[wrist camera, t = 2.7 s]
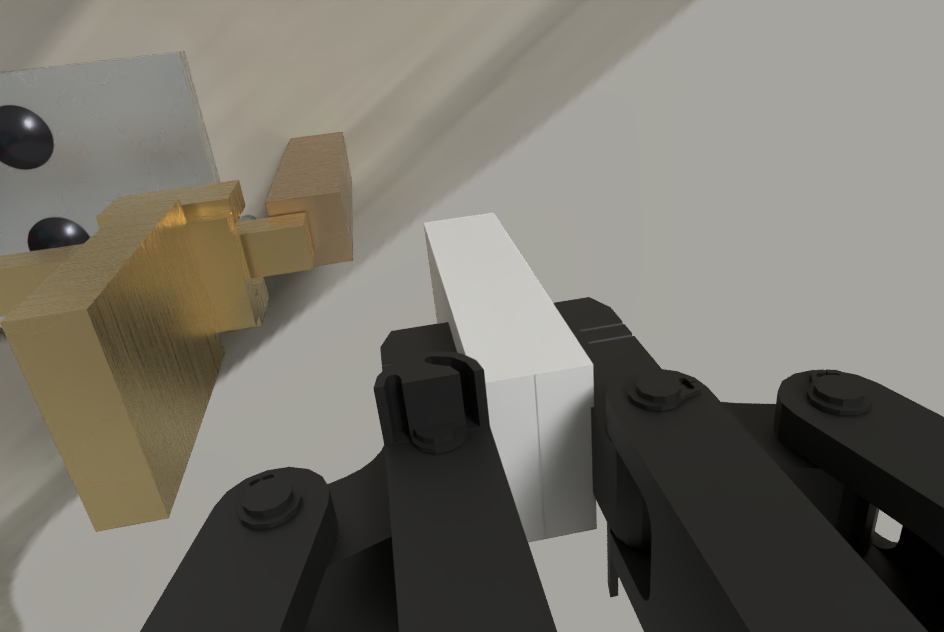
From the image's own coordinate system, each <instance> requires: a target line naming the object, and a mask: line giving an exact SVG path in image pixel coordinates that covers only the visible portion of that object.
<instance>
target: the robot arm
mask: <svg viewBox="0 0 944 632" xmlns="http://www.w3.org/2000/svg"><path fill="white" fill-rule="evenodd" d="M424 229H425V236H426V243H427V251H428V258H429V265H430V273H431V280H432V288H433V295H434V302H435V309H436V317H437V324H433V325H427V326H420V327H414V328H408V329H401V330H396V331H391V332H390V334H389V335H388V337H387V338H386V340H385V341H384V343H383V344H382V346H381V360H382V373H380V374H379V375H378V377H377V379H376V382H375V386H374V393H375V398H376V404H377V409H378V414H379V419H380V424H381V429H382V435H383V439H384V447H383V448H382V451H381V452H380V453H379V454H378V455H377V456H376V458H374V460H373V461H371V462H370V463H369V464H367V465H366V466H364V467H363V468H362V469H360V470H358V471H356V472H355V473H352V474H351V475H348V476H347V477H344V478H342V479H339V480H337V481H335V482H332V483H330V484H327V483H326V482H325V480H324V478H323V477H322V476H320V475H319V474H317V473H315V472H313V471H311V470H309V469H303V468H294V467H286V468H279V469H273V470H267V471H265V472H262V473H259V474H257V475H254V476H252V477H249V478H247V479H245V480H243V481H242V482H240V483H239V484H238V485H236V486H235V487H233V488H232V489H230V490H229V491H227V492H226V494H225V495H224V496H223V497H222V498H221V499H220V501H219V502H218V503H217V504H216V505H215V506H214V508H213V510H212V511H211V513H210V515H209V517H208V518H207V520H206V522H205V523H204V525H203V526H202V528H201V530H200V531H199V533H198V535H197V537H196V538H195V540H194V542H193V543H192V545H191V547H190V549H189V550H188V552H187V553H186V555H185V557H184V559H183V560H182V562H181V563H180V565H179V567H178V569H177V570H176V572H175V574H174V575H173V577H172V579H171V580H170V582H169V584H168V585H167V587H166V589H165V590H164V592H163V594H162V596H161V597H160V599H159V601H158V602H157V604H156V606H155V607H154V609H153V611H152V612H151V614H150V616H149V617H148V619H147V621H146V623H145V624H144V626H143V628H142V629H141V631H140V632H557V630H556V627H555V624H554V621H553V618H552V615H551V611H550V609H549V605H548V602H547V599H546V596H545V593H544V590H543V587H542V584H541V581H540V578H539V575H538V572H537V569H536V566H535V563H534V559H533V556H532V553H531V550H530V547H529V544H528V542H532V541H538V540H543V539H548V538H553V537H558V536H563V535H568V534H573V533H578V532H583V531H588V530H593V529H596V528H597V524H596V500H597V502H598V504H599V506H600V508H601V510H602V513H603V515H604V517H605V519H606V521H607V542H608V543H607V548H608V550H607V552H608V587H609V593H610V597H614V596H618V578H620V580H621V582H622V584H623V587H624V589H625V591H626V593H627V595H628V597H629V600H630V602H631V604H632V606H633V608H634V611H635V613H636V615H637V617H638V619H639V622H640V624H641V626H642V628H643V630H644V632H944V417H943V416H941V415H939V414H937V413H935V412H933V411H931V410H929V409H927V408H925V407H923V406H921V405H919V404H917V403H916V402H914V401H912V400H910V399H908V398H906V397H904V396H902V395H900V394H898V393H896V392H894V391H892V390H890V389H888V388H886V387H885V386H883V385H881V384H879V383H877V382H874V381H871V380H869V379H866V378H864V377H861V376H859V375H855V374H850V373H845V372H841V371H837V370H811V371H806V372H801V373H796V374H793V375H792V376H790V377H788V378H787V379H785V380H783V381H782V383H781V385H780V387H779V390H778V394H777V402H776V404H750V403H749V404H748V403H728V402H720V401H719V400H718V399H717V397H716V396H715V395H714V394H713V393H712V392H711V391H710V390H709V388H707V386H705V385H704V384H703V383H701V382H700V381H698V380H697V379H696V378H694V377H691V376H689V375H686V374H683V373H680V372H678V371H671V370H663V369H661V368H660V366H659V365H658V364H657V363H656V362H655V360H654V359H653V358H652V357H651V356H650V354H649V353H648V352H647V351H646V350H645V348H644V347H643V346H642V345H641V344H640V342H639V341H638V340H637V339H636V338H635V336H632V333H631V332H630V330H629V329H628V328H627V327H626V325H624V324H622V321H621V319H620V318H619V317H618V316H617V315H616V314H615V312H614V311H613V310H612V309H611V307H609V306H607V305H604V304H602V303H600V302H598V301H596V300H594V299H592V298H590V297H587V298H581V299H575V300H568V301H562V302H556V303H552V301H551V299H550V298H549V296H548V295H547V293H546V292H545V290H544V289H543V287H542V286H541V284H540V282H539V281H538V280H537V278H536V277H535V275H534V273H533V272H532V270H531V269H530V267H529V266H528V264H527V263H526V261H525V260H524V258H523V257H522V255H521V253H520V252H519V250H518V249H517V247H516V246H515V244H514V243H513V241H512V240H511V238H510V237H509V235H508V234H507V232H506V231H505V229H504V228H503V226H502V225H501V223H500V221H499V220H498V218H497V217H496V215H495V214H494V213H488V214H481V215H474V216H467V217H460V218H453V219H446V220H439V221H433V222H426V223H424ZM879 509H880V510H881V511H883V512H884V513H886V514H887V515H888V516H890V517H891V518H893V519H894V520H896V521H897V522H899V523H900V524H901V525H903V527H902V531H901V535H900V539H899V541H898V543H897V542H891V541H889V540H887V539H886V538H884V537H882V536H880V535H879V534H878V533H876V532H875V526H876V522H877V517H878V512H879Z"/></svg>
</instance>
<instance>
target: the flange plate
mask: <svg viewBox="0 0 944 632" xmlns="http://www.w3.org/2000/svg"><path fill="white" fill-rule="evenodd" d="M213 183H220V181H219V178H218V174H217V170H216V166H215V163H214V159H213V155H212V152H211V148H210V144H209V140H208V137H207V133H206V129H205V126H204V122H203V118H202V114H201V111H200V107H199V103H198V100H197V96H196V92H195V88H194V85H193V81H192V77H191V74H190V70H189V66H188V62H187V59H186V55H185V51H180V52H171V53H163V54H154V55H145V56H137V57H128V58H119V59H111V60H102V61H93V62H85V63H76V64H67V65H59V66H50V67H41V68H33V69H24V70H15V71H7V72H0V256H2V255H9V254H16V253H23V252H30V251H37V250H44V249H51V248H58V247H65V246H72V245H79V244H84V243H85V242H86V241H87V240H88V239H89V238H91V237H92V236H93V235H94V234H95V233H96V232H97V231H98V230H99V229H100V228H99V225H98V222H97V219H96V216H97V215H98V214H99V213H101V212H102V211H103V210H104V209H105V208H106V207H107V206H109V205H110V204H111V203H112V202H113V201H114V200H115V199H117V198H118V197H119V196H124V195H132V194H139V193H146V192H154V191H161V190H169V189H176V188H183V187H191V186H198V185H205V184H213ZM5 317H6V316H2V317H0V322H1V321H2V320H3V319H4V318H5ZM0 328H2V327H1V325H0Z"/></svg>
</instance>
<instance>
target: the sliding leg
mask: <svg viewBox="0 0 944 632" xmlns="http://www.w3.org/2000/svg"><path fill="white" fill-rule="evenodd" d="M244 208H245V202H244V198H243V194H242V190H241V186H240V182H239V180H235V181H227V182H220V183H213V184H205V185H198V186H191V187H183V188H176V189H169V190H161V191H154V192H146V193H139V194H132V195H124V196H119V197H118V198H117V199H115V200H114V201H113V202H112V203H111V204H110V205H109V206H107V207H106V208H105V209H104V210H103V211H102V212H101V213H99V214H98V215H97V216H96V219H97V222H98V225H99V228H100V229H99V230H98V231H97V232H96V233H95V234H94V235H93V236H92V237H91V238H89V239H88V240H87V241H86V242H85V243H84V244H83V245H82V246H81V247H80V248H79V249H78V250H77V251H76V252H75V253H73V254H72V255H71V256H70V257H69V258H68V259H67V260H66V261H65V262H64V263H63V264H62V265H61V266H60V267H59V268H57V269H56V270H55V271H54V272H53V273H52V274H51V275H50V276H49V277H48V278H47V279H46V280H45V281H44V282H43V283H42V284H40V285H39V286H38V287H37V288H36V289H35V290H34V291H33V292H32V293H31V294H30V295H29V296H28V297H27V298H26V299H24V300H23V301H22V302H21V303H20V304H19V305H18V306H17V307H16V308H15V309H14V310H13V311H12V312H11V313H10V314H8V315H7V316H6V317H5V318H4V319H3V320H2V321H1V322H0V325H1V327H2V329H3V331H4V333H5V335H6V338H7V340H8V342H9V344H10V346H11V349H12V351H13V353H14V355H15V357H16V359H17V362H18V364H19V366H20V368H21V370H22V372H23V375H24V377H25V379H26V381H27V383H28V385H29V388H30V390H31V392H32V394H33V396H34V398H35V401H36V403H37V405H38V407H39V409H40V411H41V414H42V416H43V418H44V420H45V422H46V424H47V427H48V429H49V431H50V433H51V435H52V437H53V440H54V442H55V444H56V446H57V448H58V450H59V453H60V455H61V457H62V459H63V461H64V463H65V466H66V468H67V470H68V472H69V474H70V476H71V479H72V481H73V483H74V485H75V487H76V489H77V492H78V494H79V496H80V498H81V500H82V502H83V505H84V507H85V509H86V511H87V513H88V515H89V518H90V520H91V522H92V524H93V526H94V528H95V531H96V532H97V531H102V530H108V529H113V528H118V527H124V526H129V525H135V524H140V523H145V522H151V521H156V520H161V519H166V518H169V516H170V513H171V510H172V507H173V504H174V501H175V498H176V495H177V492H178V490H179V487H180V484H181V481H182V478H183V474H184V472H185V469H186V466H187V463H188V460H189V458H190V455H191V452H192V449H193V446H194V443H195V440H196V437H197V434H198V431H199V428H200V425H201V423H202V419H203V417H204V414H205V411H206V408H207V405H208V402H209V399H210V396H211V394H212V391H213V388H214V385H215V382H216V379H217V376H218V373H219V370H220V367H221V364H222V362H223V359H224V356H225V349H224V346H223V343H222V339H221V336H220V333H221V332H227V331H233V330H240V329H246V328H252V327H258V326H262V323H263V319H264V316H265V312H266V308H267V304H268V300H269V296H268V292H267V288H266V284H265V280H264V277H260V278H253V279H251V277H250V273H249V269H248V265H247V262H246V258H245V254H244V250H243V247H242V243H241V239H240V235H239V232H238V228H237V222H238V220H239V218H240V216H241V214H242V212H243V210H244ZM255 219H256V218H255V217H254V216H252V215H244V216H242V217H241V218H240V220H239V222H241V221H248V220H255Z"/></svg>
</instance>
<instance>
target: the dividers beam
mask: <svg viewBox="0 0 944 632" xmlns="http://www.w3.org/2000/svg"><path fill="white" fill-rule="evenodd" d="M265 204H266V208H267V212H268V216H269V218H262V219H255V220H248V221H241V222H237V228H238V232H239V235H240V239H241V243H242V247H243V250H244V254H245V258H246V262H247V265H248V269H249V273H250V277H251V279H253V278H260V277H266V276H273V275H279V274H286V273H293V272H299V271H306V270H312V269H313V266H320V265H326V264H333V263H340V262H346V261H353V218H352V181H351V175H350V169H349V164H348V158H347V153H346V147H345V142H344V136H343V132H339V133H331V134H323V135H316V136H308V137H300V138H293V139H290V142H289V144H288V147H287V149H286V151H285V154H284V156H283V159H282V161H281V164H280V166H279V169H278V171H277V174H276V176H275V179H274V181H273V184H272V186H271V189H270V191H269V194H268V196H267V199H266V201H265ZM82 245H83V244H79V245H72V246H65V247H58V248H51V249H44V250H37V251H30V252H23V253H16V254H9V255H2V256H0V317H2V316H7V315H8V314H10V313H11V312H12V311H13V310H14V309H15V308H16V307H17V306H18V305H19V304H20V303H21V302H22V301H23V300H24V299H26V298H27V297H28V296H29V295H30V294H31V293H32V292H33V291H34V290H35V289H36V288H37V287H38V286H39V285H40V284H42V283H43V282H44V281H45V280H46V279H47V278H48V277H49V276H50V275H51V274H52V273H53V272H54V271H55V270H56V269H57V268H59V267H60V266H61V265H62V264H63V263H64V262H65V261H66V260H67V259H68V258H69V257H70V256H71V255H72V254H73V253H75V252H76V251H77V250H78V249H79V248H80V247H81V246H82Z"/></svg>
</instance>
